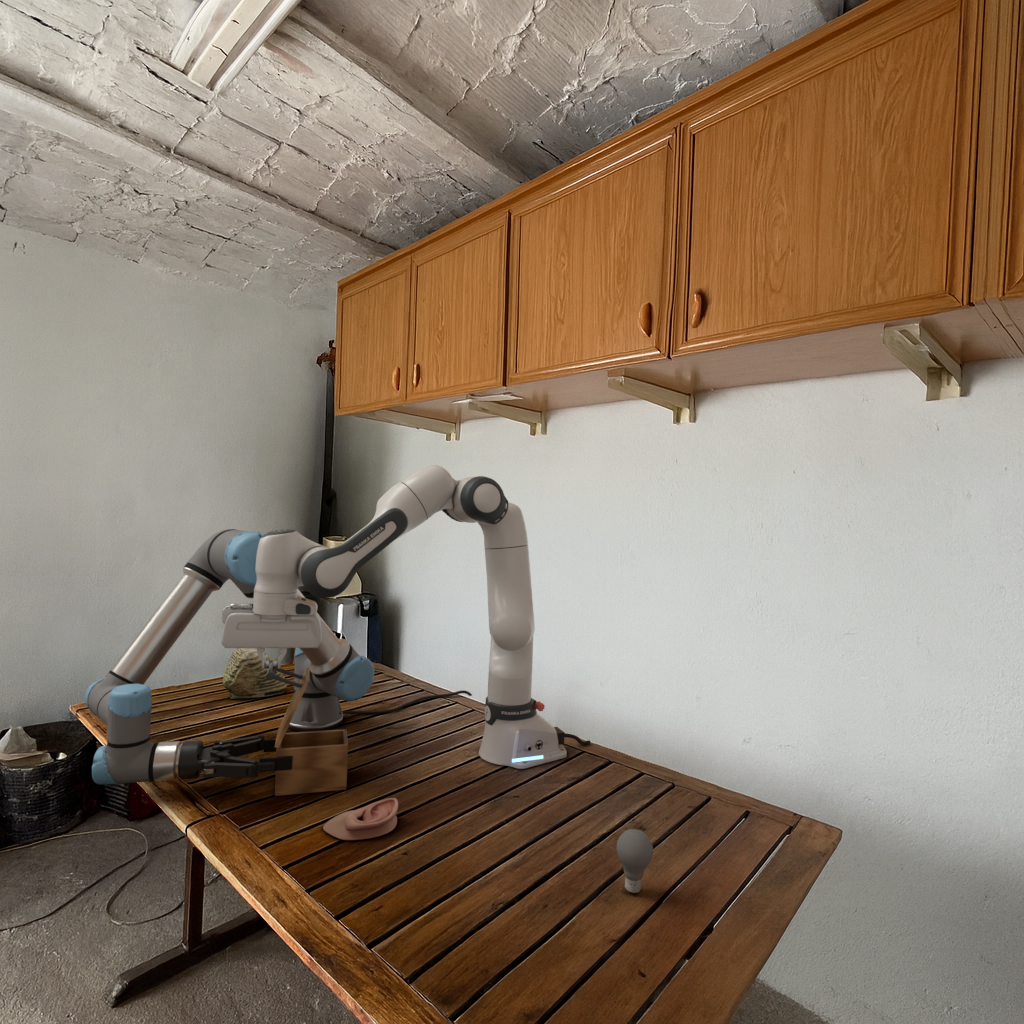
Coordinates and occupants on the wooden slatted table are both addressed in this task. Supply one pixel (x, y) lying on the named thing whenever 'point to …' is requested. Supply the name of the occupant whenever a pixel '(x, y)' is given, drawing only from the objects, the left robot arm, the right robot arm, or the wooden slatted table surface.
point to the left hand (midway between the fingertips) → (293, 752)
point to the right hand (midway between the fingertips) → (271, 668)
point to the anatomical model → (364, 821)
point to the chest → (313, 762)
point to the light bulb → (634, 857)
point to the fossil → (250, 676)
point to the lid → (295, 699)
